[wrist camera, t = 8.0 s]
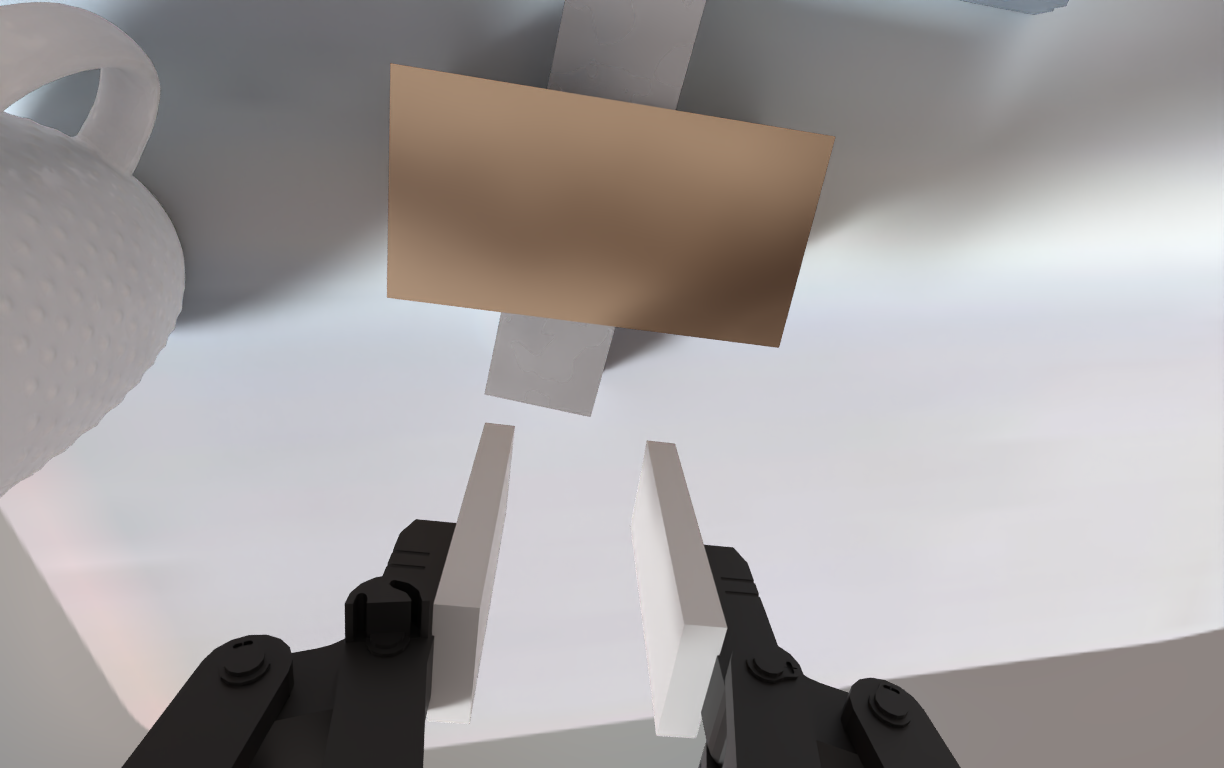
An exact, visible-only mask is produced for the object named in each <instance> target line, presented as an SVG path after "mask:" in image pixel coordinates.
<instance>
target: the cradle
mask: <svg viewBox="0 0 1224 768" xmlns="http://www.w3.org/2000/svg"><path fill="white" fill-rule="evenodd" d="M961 1H966V2H971V3H977V4H982V5H987V6H992V7H997V8H1003V9H1008V10H1013V11H1018V12H1023V13H1029V14H1040V13H1045V12H1051V11H1053V10H1054V8H1058V7H1064V6H1067V3H1068V1H1069V0H961Z"/></svg>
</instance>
